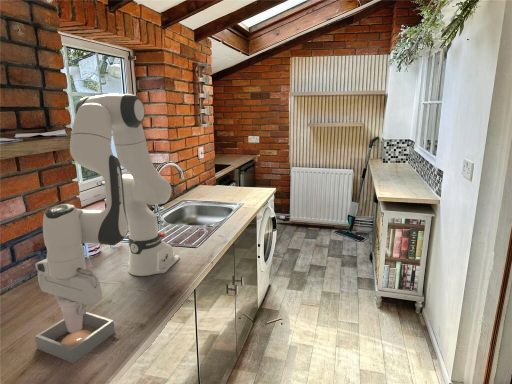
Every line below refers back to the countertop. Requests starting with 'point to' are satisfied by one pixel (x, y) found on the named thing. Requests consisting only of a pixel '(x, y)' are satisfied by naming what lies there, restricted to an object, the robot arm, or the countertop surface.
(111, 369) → the countertop surface
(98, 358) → the countertop surface
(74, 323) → the smoothie
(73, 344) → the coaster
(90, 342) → the grey open tray
